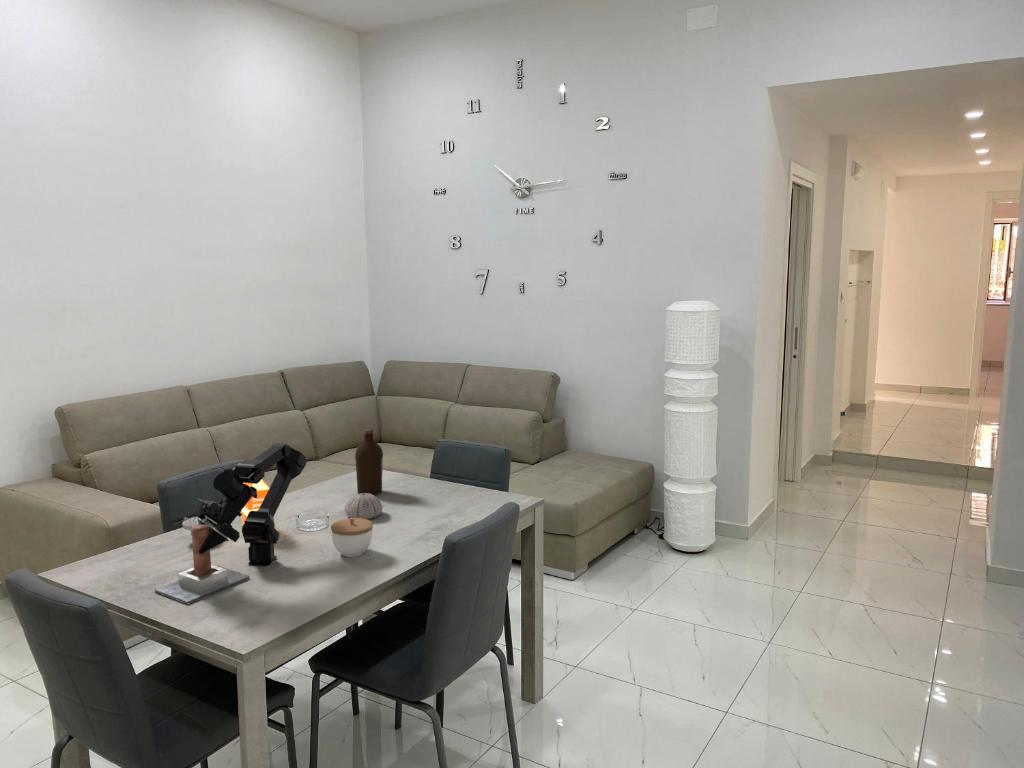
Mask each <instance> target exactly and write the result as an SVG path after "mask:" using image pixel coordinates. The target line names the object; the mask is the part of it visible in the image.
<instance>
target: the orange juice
mask: <svg viewBox="0 0 1024 768" xmlns="http://www.w3.org/2000/svg"><path fill="white" fill-rule="evenodd" d="M243 484H246V485H248V486H249V487H251V486H253V487H254V488H256V489H257V498H256V499H255V498H254V497H252V498H251V499H250V500H249V502H248V503H247V504H246V505H245V507H244V508H243V509H242V511H241V513H242V515H241V527H242V526H243V524H244V523H245V522H244V520H245V519H246V518H247V516H248V513H249V512H250V511H257V510H258V509H259V508H260V506H261V504H262V502H263V500H264V498H265V496H266V494H267V492H268V490H269V488H270V486H268V484H267V483H266V482H265V481H264V480H263V479H262V480H261V481H260V482H259V483H257V484H251V483H243Z"/></svg>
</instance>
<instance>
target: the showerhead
mask: <svg viewBox="0 0 1024 768" xmlns="http://www.w3.org/2000/svg"><path fill="white" fill-rule="evenodd" d="M198 519H199V520H201V519H200V518H199V517H197V516H192V517H190V518H188V517H186V516H184V517H183V522H182V528H183V530H187V531H190V535H191V536H192V530H191V528H192V527H193V526H196V525H199V522H198Z"/></svg>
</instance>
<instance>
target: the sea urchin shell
mask: <svg viewBox="0 0 1024 768" xmlns="http://www.w3.org/2000/svg"><path fill="white" fill-rule="evenodd" d="M344 512H345V515H346V516H347V517H348V518H362V519H367V520H371V519H374V518H377V517H379V516H380V515H381V514H382V512H383V504H382V502H381V500H380V499H379V498H378V497H377V495H372V494H369V493H361V494H358V493H357V494H356V495H353V496H352V497H351V498H349V500H347V502H346V504H345V507H344Z"/></svg>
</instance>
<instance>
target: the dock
mask: <svg viewBox="0 0 1024 768" xmlns="http://www.w3.org/2000/svg"><path fill="white" fill-rule="evenodd" d="M247 579H248V580H250V579H251V578H250V575H247V574H245V573H242V572H238V571H235V570H232V569H229V568H226V567H223V566H221V565H218V564H217V565H214V564H211V572H210V573H209V574H206V575H195V574H194V567H192V568H189V569H187V570H184V571H181V572H179V573H177V580H176V581H173V582H171V583H168V584H166V585H163V586H160V587H158V588H155V589H154V593H155V592H157V593H156V594H158V593H159V594H158V595H161V594H163V595H165V596H164V597H166V596H168V597H167V598H169V597H170V598H169V599H171V598H174V599H177V600H179V601H182V602H184V603H186V604H185V605H187V604H188V603H190V604H192V603H191V602H193V601H195V602H197V601H196V600H198V599H200V600H202V599H205V598H207V597H209V595H210V596H211V595H214V594H216V593H219V592H222V591H224V590H226V589H228V588H230V587H233V586H235V585H238V584H240V583H242V582H245V581H248V580H247ZM163 595H162V596H163ZM204 597H205V598H204ZM201 598H202V599H201ZM174 599H173V600H174ZM179 601H178V602H179ZM198 601H199V600H198ZM182 602H181V603H182ZM184 603H183V604H184ZM193 603H194V602H193ZM188 605H189V604H188Z"/></svg>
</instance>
